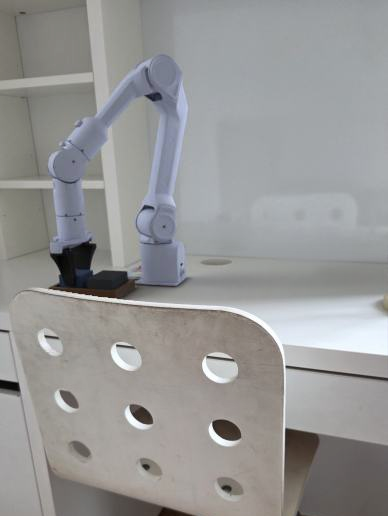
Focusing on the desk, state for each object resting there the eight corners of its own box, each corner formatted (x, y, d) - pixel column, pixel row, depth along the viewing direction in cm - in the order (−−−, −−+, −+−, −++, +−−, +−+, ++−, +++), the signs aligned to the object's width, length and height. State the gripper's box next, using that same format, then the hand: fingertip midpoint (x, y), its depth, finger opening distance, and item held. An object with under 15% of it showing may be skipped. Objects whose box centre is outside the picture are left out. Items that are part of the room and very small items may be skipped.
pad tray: (135, 288, 111) (134, 278, 110) (116, 301, 102) (115, 291, 101) (73, 285, 115) (72, 275, 114) (49, 297, 106) (48, 287, 105)
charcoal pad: (128, 287, 110) (127, 271, 109) (113, 296, 103) (112, 279, 102) (104, 285, 111) (102, 270, 110) (87, 295, 105) (86, 278, 103)
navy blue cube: (94, 286, 111) (92, 270, 110) (82, 293, 106) (80, 275, 105) (73, 285, 112) (71, 269, 111) (60, 292, 107) (58, 274, 106)
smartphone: (122, 275, 119) (145, 261, 132) (122, 279, 119) (145, 265, 133) (153, 276, 117) (173, 262, 130) (153, 280, 117) (173, 265, 131)
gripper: (70, 210, 111) (76, 273, 116) (32, 219, 98) (41, 289, 103) (100, 210, 109) (105, 274, 114) (66, 219, 96) (73, 291, 101)
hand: (77, 281), depth 109 cm, fingers closed on navy blue cube, 5 cm apart
